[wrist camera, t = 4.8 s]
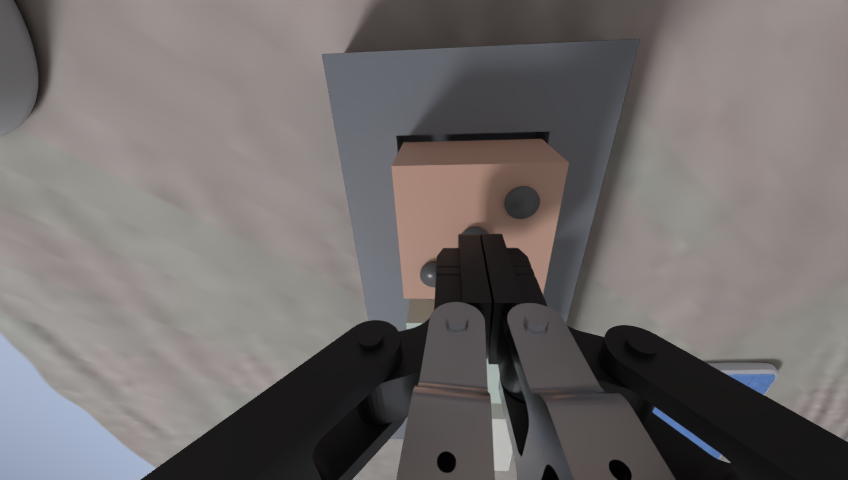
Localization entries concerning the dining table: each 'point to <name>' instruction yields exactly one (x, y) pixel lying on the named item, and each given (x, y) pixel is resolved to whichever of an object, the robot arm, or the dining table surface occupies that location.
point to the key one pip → (500, 439)
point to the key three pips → (474, 202)
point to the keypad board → (474, 138)
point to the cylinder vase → (15, 69)
